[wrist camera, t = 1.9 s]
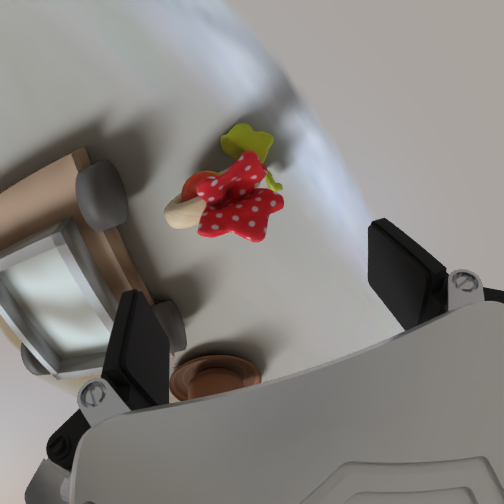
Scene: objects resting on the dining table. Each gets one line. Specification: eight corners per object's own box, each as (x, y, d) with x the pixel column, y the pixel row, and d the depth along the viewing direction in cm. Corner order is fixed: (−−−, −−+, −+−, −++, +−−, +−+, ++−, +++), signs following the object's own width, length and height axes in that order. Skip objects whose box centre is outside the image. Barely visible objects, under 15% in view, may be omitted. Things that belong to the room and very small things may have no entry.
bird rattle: (217, 208, 27) (306, 172, 23) (174, 300, 19) (301, 268, 15) (179, 154, 23) (271, 106, 19) (111, 232, 15) (239, 165, 11)
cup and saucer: (265, 385, 40) (274, 420, 34) (188, 403, 39) (191, 438, 34) (248, 335, 33) (259, 377, 28) (153, 357, 32) (152, 399, 27)
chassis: (-37, 219, 18) (-65, 244, 14) (105, 136, 19) (81, 149, 15) (57, 361, 30) (47, 393, 25) (190, 333, 31) (193, 372, 26)
